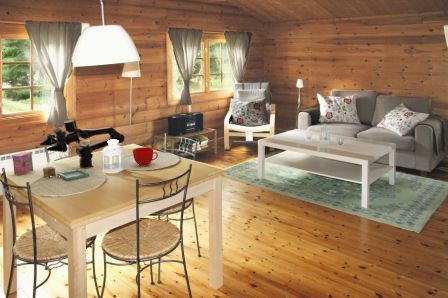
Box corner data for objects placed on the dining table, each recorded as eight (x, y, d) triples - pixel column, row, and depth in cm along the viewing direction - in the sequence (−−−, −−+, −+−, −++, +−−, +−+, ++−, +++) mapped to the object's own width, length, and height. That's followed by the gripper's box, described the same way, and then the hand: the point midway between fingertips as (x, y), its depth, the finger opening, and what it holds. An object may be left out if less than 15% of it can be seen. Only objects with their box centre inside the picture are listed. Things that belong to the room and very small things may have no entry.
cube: (52, 174, 251) (51, 166, 250) (55, 176, 247) (55, 168, 246) (43, 176, 247) (43, 168, 246) (47, 178, 244) (46, 169, 243)
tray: (79, 172, 256) (79, 169, 255) (89, 176, 246) (89, 173, 246) (58, 176, 247) (57, 173, 247) (67, 181, 238) (67, 177, 237)
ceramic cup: (152, 168, 262) (152, 152, 260) (129, 166, 268) (128, 150, 266) (163, 163, 274) (162, 148, 272) (140, 161, 280) (139, 146, 278)
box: (22, 175, 250) (20, 155, 247) (14, 174, 251) (11, 155, 248) (33, 170, 260) (31, 151, 257) (25, 170, 261) (23, 151, 258)
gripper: (58, 122, 258) (33, 129, 248) (73, 131, 247) (48, 139, 237) (62, 138, 263) (37, 146, 254) (76, 148, 252) (51, 157, 242)
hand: (43, 147), depth 246 cm, fingers open, 9 cm apart
